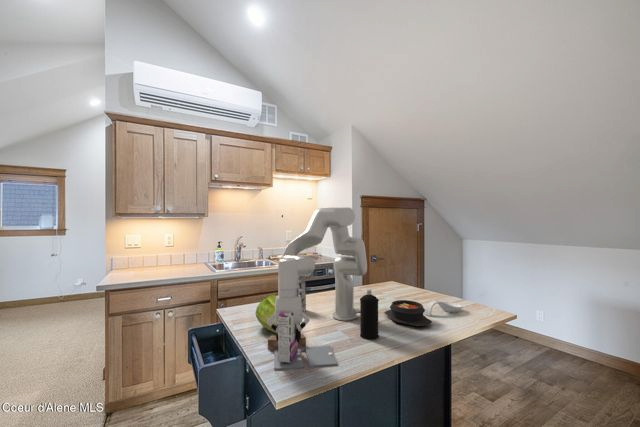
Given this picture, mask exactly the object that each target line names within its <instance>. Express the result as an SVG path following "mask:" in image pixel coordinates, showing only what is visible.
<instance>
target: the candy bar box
mask: <svg viewBox="0 0 640 427" xmlns="http://www.w3.org/2000/svg"><path fill="white" fill-rule="evenodd" d="M298 349H299V348H298V342H297V326H296V324H294V313H280V314H279V315H278V362H284V363H291V361H292V359H293V358H294V356H295V354H296V352H297V350H298Z"/></svg>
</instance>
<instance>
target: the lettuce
mask: <svg viewBox="0 0 640 427" xmlns="http://www.w3.org/2000/svg"><path fill="white" fill-rule="evenodd" d="M276 296H277V295H275V294H274V295H273V294H271V295H268V296H267V297H266V298H265V297H264V299H262V300H261V301H260V302H259V304H258V306H257V307H256V309H255V317H256V319H257V321H258V322H259V324H260V325H261V326H262V328H265V329H266V330H269V331H270V332H272V333H275V334H276V331H275V330H273V329H272V328H271V326H269V325H268V324H267V321H268V319H269V318H270V317H271V316H272V315H273V314H274V313H275V300H276ZM272 322H273V323H274V324H275V319H274V320H273V321H272ZM275 325H276V326H277V324H275Z"/></svg>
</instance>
